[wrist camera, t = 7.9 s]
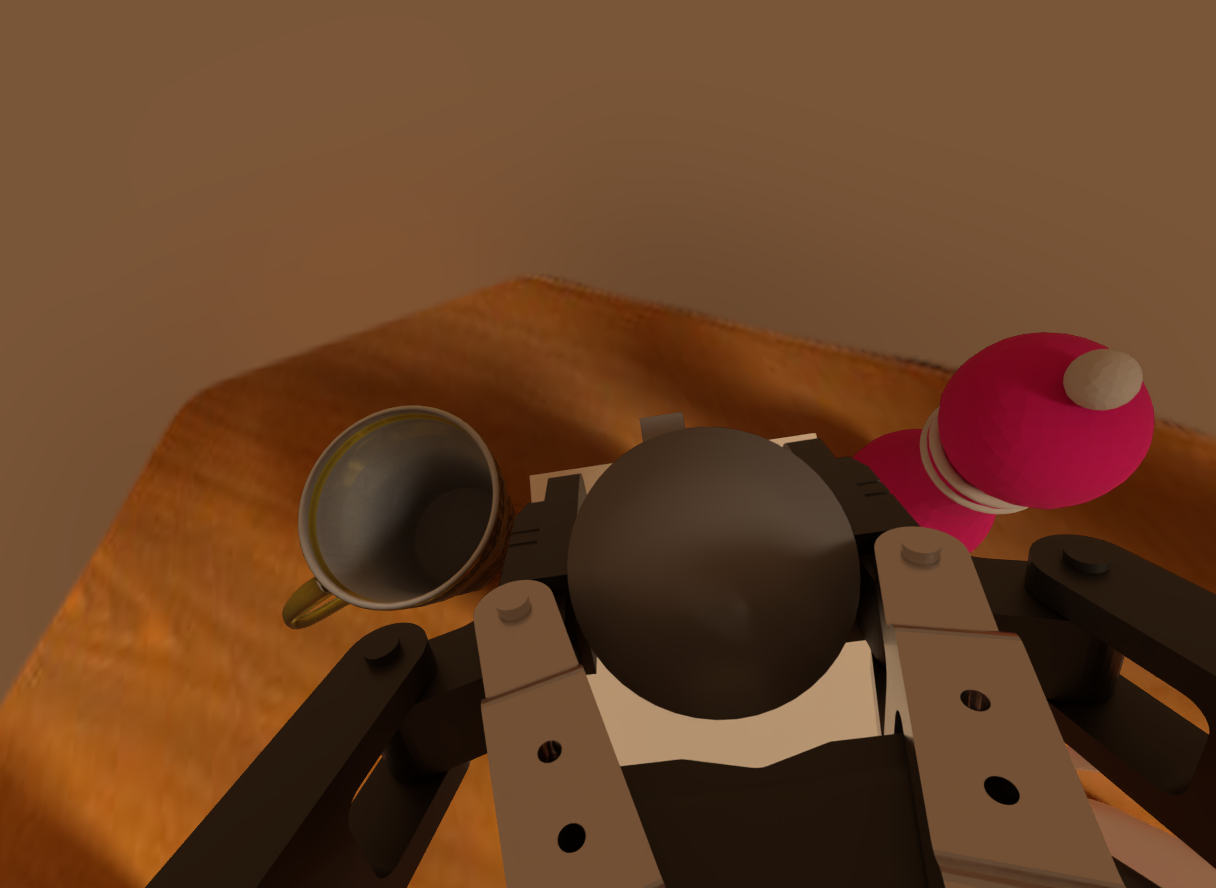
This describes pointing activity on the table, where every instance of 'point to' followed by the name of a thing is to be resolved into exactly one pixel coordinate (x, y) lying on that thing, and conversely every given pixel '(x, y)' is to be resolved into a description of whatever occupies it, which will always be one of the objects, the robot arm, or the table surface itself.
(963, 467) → the pepper mill
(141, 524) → the table surface
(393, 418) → the ceramic cup
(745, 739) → the dispenser
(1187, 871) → the coffeepot
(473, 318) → the table surface
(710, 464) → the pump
